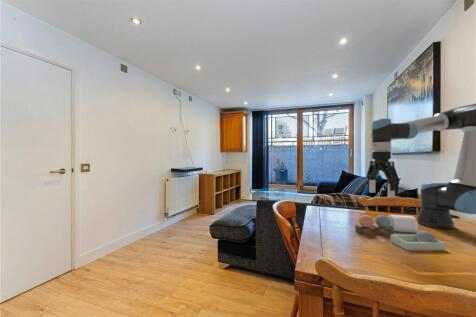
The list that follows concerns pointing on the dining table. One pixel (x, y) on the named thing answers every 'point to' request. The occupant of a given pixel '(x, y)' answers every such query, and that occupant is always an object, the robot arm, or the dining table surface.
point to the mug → (403, 223)
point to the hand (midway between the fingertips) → (381, 195)
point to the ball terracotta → (366, 221)
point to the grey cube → (382, 221)
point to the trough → (416, 243)
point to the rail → (374, 230)
